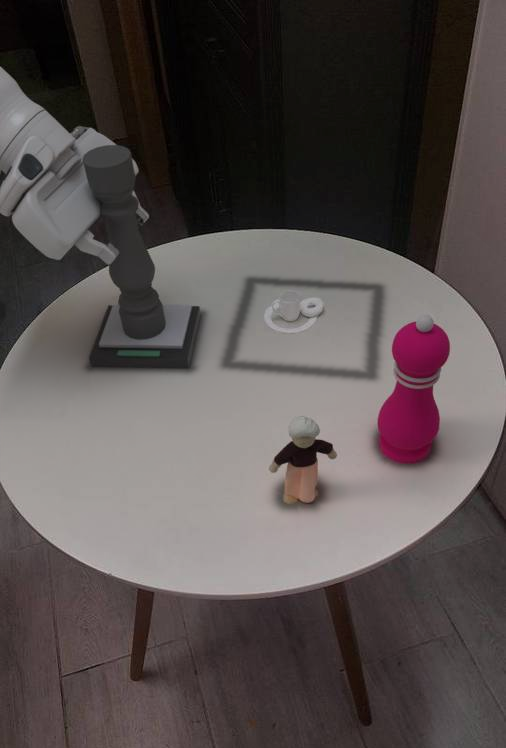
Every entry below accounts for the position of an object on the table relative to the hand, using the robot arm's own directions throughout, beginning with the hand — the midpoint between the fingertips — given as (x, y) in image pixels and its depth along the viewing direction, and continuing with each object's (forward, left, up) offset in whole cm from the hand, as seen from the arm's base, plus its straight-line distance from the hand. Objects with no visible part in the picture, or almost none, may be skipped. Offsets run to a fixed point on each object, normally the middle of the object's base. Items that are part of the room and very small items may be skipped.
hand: (130, 240), depth 87 cm
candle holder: (-1, +1, -14) cm, 15 cm away
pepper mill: (+35, -19, -17) cm, 44 cm away
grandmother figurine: (+23, -27, -17) cm, 40 cm away
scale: (-1, 0, -17) cm, 17 cm away
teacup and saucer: (+22, +4, -17) cm, 29 cm away
